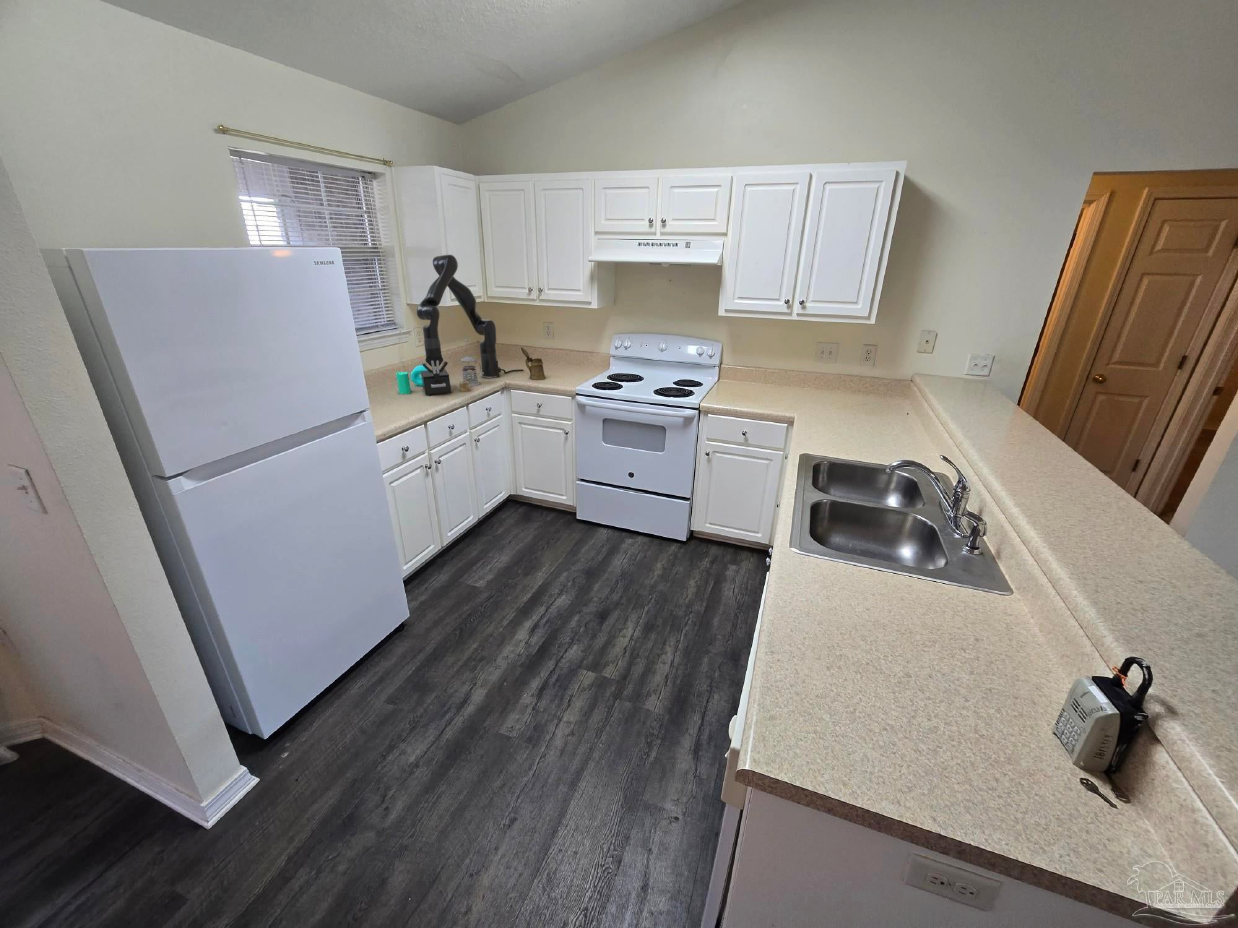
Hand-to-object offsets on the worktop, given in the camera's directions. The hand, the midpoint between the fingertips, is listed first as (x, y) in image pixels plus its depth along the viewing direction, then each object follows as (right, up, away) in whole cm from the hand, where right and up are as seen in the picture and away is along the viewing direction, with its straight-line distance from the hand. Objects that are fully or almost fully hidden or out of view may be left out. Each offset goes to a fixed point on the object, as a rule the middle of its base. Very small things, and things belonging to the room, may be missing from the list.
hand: (437, 380), depth 263 cm
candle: (-20, -5, +9) cm, 23 cm away
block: (+10, -3, +13) cm, 17 cm away
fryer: (-4, -4, +12) cm, 13 cm away
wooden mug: (+43, +8, +40) cm, 60 cm away
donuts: (-17, +2, +25) cm, 30 cm away
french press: (+11, +2, +27) cm, 29 cm away
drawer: (-2, -4, +8) cm, 9 cm away
